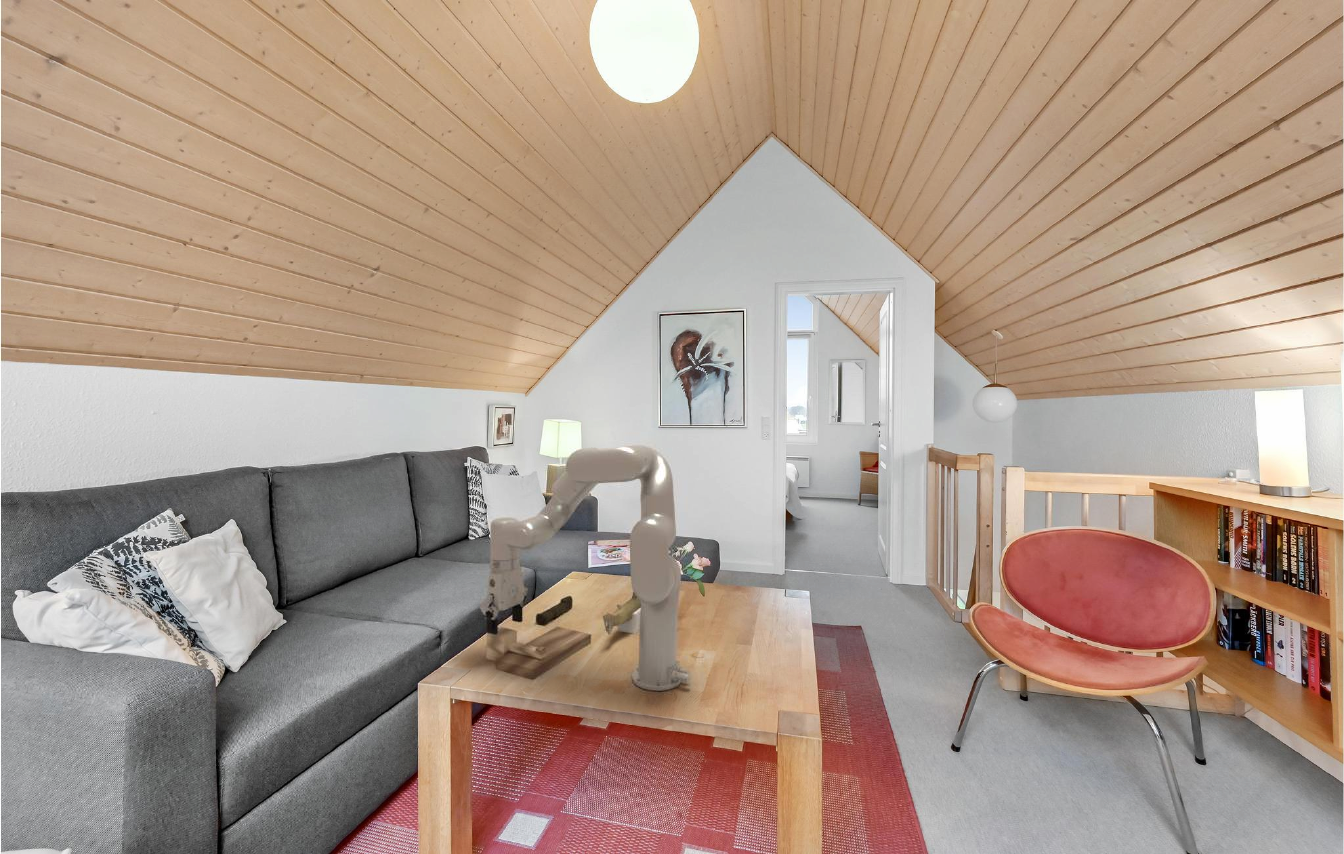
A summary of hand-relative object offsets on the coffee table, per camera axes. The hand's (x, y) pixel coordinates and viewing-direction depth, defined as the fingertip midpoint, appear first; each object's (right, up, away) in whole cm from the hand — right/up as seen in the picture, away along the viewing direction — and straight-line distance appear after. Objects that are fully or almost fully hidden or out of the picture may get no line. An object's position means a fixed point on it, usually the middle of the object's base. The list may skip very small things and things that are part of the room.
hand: (505, 627), depth 148 cm
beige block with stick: (+4, -8, -2) cm, 10 cm away
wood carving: (+31, -9, +22) cm, 39 cm away
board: (+11, -9, +3) cm, 14 cm away
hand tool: (+7, -9, +33) cm, 35 cm away
